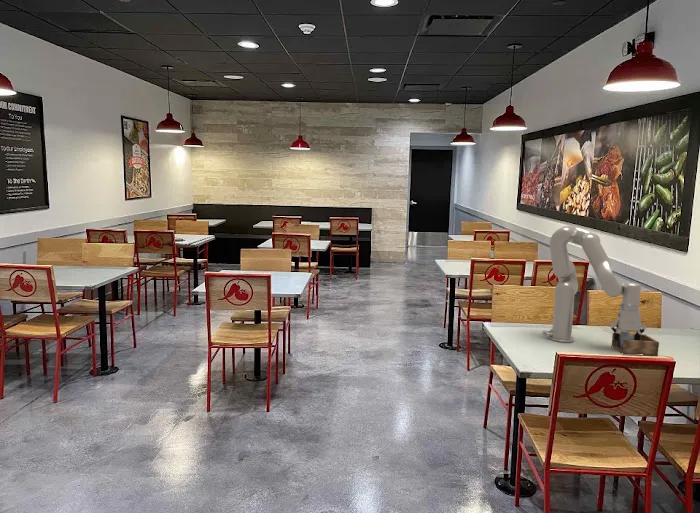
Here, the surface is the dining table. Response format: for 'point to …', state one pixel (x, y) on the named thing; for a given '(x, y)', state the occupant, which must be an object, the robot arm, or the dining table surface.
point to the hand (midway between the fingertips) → (626, 341)
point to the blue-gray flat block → (625, 337)
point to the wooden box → (637, 346)
